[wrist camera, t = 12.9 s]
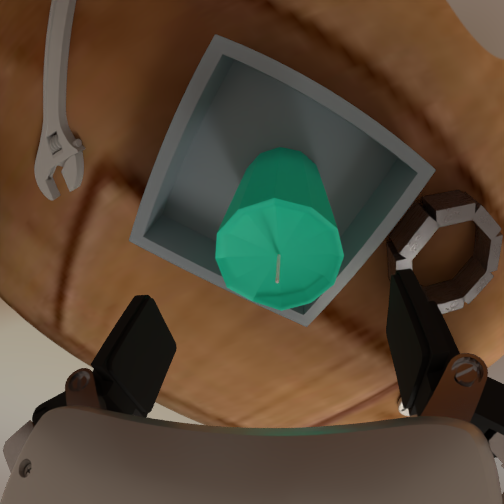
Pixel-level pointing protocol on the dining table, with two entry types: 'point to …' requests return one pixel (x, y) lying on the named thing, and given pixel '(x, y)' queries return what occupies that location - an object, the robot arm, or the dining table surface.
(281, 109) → the bin
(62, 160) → the adjustable wrench
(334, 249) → the candle
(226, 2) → the dining table surface
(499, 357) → the dining table surface
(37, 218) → the dining table surface
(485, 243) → the collar
